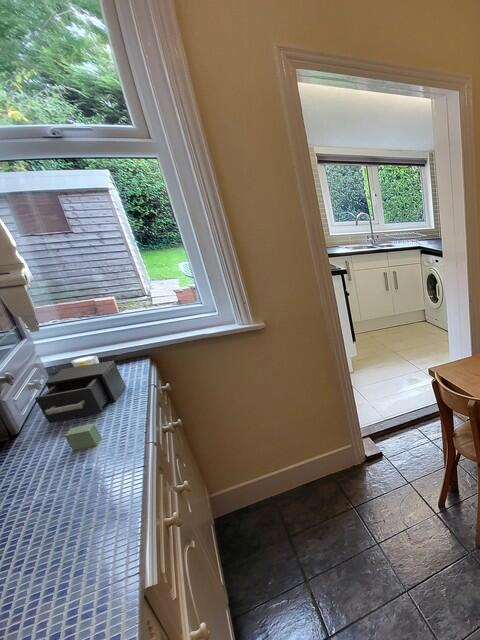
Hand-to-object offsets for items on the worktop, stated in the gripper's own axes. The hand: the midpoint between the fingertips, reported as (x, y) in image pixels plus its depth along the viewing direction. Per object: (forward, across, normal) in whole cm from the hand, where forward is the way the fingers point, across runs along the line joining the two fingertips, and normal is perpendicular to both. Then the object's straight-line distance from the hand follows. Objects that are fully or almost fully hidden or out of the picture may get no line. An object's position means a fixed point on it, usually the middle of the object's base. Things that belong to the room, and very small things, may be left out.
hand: (35, 328), depth 111 cm
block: (+26, +28, 0) cm, 38 cm away
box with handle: (+26, -10, +4) cm, 28 cm away
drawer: (+25, +3, 0) cm, 25 cm away
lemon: (+26, -28, +4) cm, 39 cm away
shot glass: (+26, -37, +5) cm, 46 cm away
